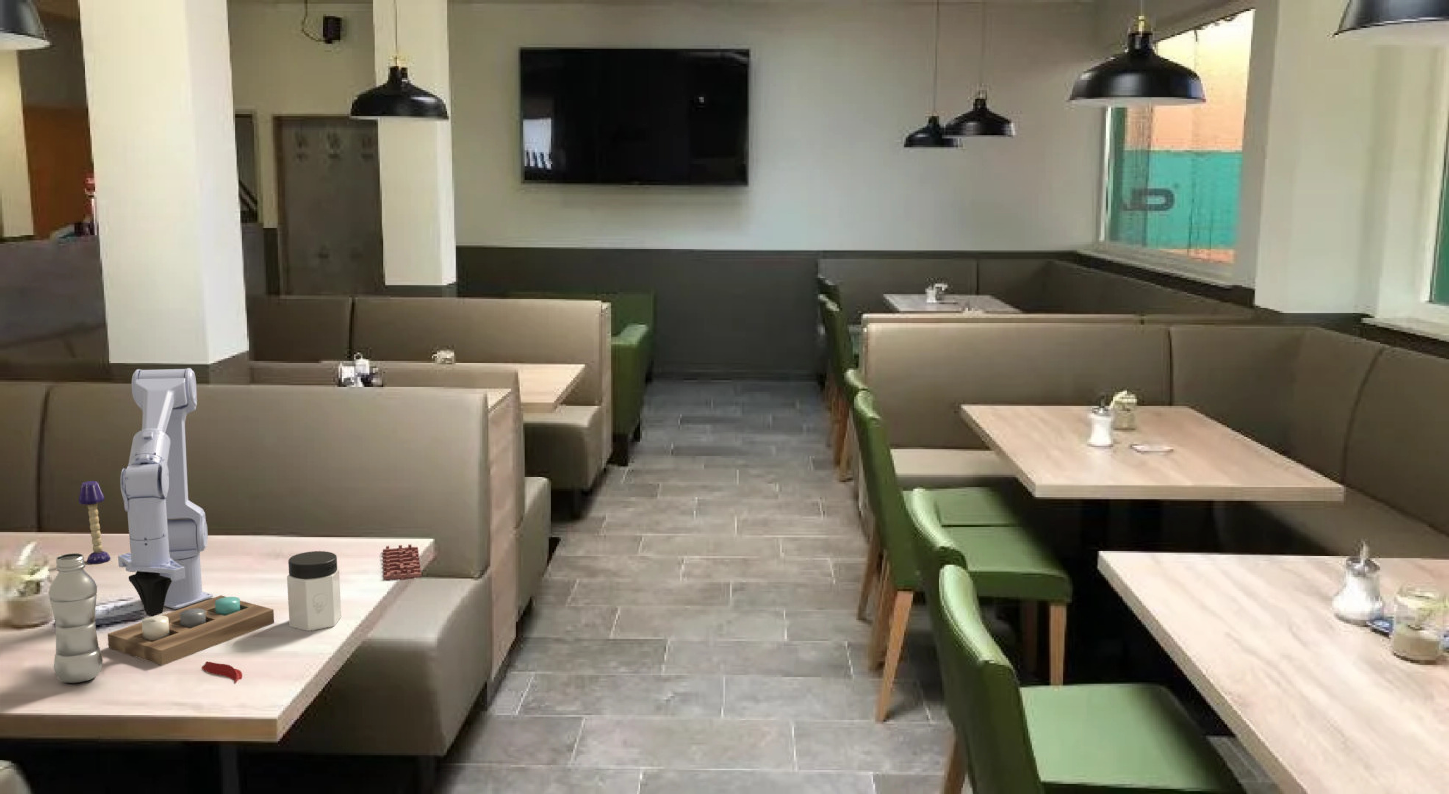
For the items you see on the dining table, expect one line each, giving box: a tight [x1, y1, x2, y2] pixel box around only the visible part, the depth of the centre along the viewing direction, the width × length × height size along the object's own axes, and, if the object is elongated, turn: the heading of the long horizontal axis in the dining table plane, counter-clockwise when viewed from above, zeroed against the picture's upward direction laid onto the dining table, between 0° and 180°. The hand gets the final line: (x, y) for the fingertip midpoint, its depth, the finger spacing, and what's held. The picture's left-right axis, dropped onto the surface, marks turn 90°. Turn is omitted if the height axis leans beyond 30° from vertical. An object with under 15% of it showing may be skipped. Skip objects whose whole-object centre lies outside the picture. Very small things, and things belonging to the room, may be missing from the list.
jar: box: [286, 550, 342, 632], centre depth 205 cm, size 9×8×12 cm
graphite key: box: [180, 609, 206, 629], centre depth 199 cm, size 4×4×3 cm
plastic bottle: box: [48, 552, 104, 684], centre depth 179 cm, size 6×7×20 cm
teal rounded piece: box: [215, 596, 241, 616], centre depth 205 cm, size 4×4×3 cm
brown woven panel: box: [382, 543, 422, 581], centre depth 238 cm, size 7×19×2 cm, turn 17°
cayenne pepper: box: [201, 661, 243, 684], centre depth 184 cm, size 12×5×2 cm, turn 37°
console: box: [107, 594, 275, 666], centre depth 199 cm, size 14×22×2 cm, turn 151°
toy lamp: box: [78, 480, 111, 565], centre depth 236 cm, size 5×5×17 cm
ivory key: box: [141, 615, 169, 641], centre depth 193 cm, size 4×4×3 cm
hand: (154, 614), depth 192 cm, fingers closed
